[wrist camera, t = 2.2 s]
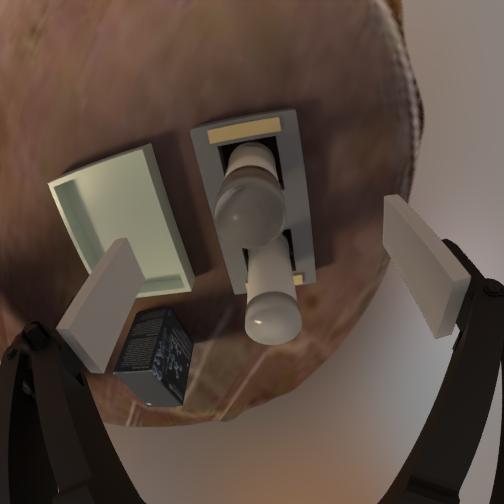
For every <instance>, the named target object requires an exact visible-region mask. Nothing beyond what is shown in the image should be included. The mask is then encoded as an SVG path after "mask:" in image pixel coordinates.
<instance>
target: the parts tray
mask: <svg viewBox="0 0 504 504" xmlns="http://www.w3.org/2000/svg"><path fill="white" fill-rule="evenodd" d="M48 185H49V187H50V190H51V193H52V195H53V198H54V200H55V203H56V205H57V207H58V210H59V212H60V215H61V217H62V219H63V222H64V224H65V226H66V228H67V230H68V233H69V235H70V237H71V239H72V241H73V243H74V245H75V247H76V250H77V252H78V254H79V256H80V258H81V260H82V262H83V263H84V265H85V267H86V269H87V271H88V273H89V275H90V274H91V273H92V271H93V270H94V268H95V267H96V265H97V264H98V263H99V261H100V260H101V258H102V257H103V256H104V254H105V253H106V251H107V250H108V249H109V247H110V246H111V245H112V243H113V242H114V241H115V239H120V238H125V237H127V239H128V241H129V243H130V246H131V248H132V250H133V253H134V255H135V257H136V259H137V262H138V264H139V266H140V268H141V270H142V273H143V275H144V277H145V280H144V282H143V284H142V286H141V288H140V291H139V293H138V295H137V297H136V298H138V297H147V296H156V295H164V294H172V293H181V292H189V291H192V288H193V284H194V280H195V275H194V273H193V270H192V267H191V264H190V262H189V259H188V256H187V253H186V250H185V248H184V245H183V242H182V239H181V236H180V233H179V230H178V227H177V224H176V221H175V218H174V215H173V212H172V209H171V206H170V203H169V200H168V197H167V194H166V190H165V187H164V184H163V181H162V178H161V174H160V171H159V168H158V164H157V161H156V158H155V154H154V151H153V147H152V144H151V143H150V144H146V145H143V146H140V147H137V148H133V149H130V150H127V151H124V152H121V153H118V154H115V155H112V156H109V157H107V158H104V159H101V160H98V161H95V162H93V163H90V164H87V165H85V166H82V167H80V168H77V169H75V170H72V171H70V172H67V173H65V174H62V175H60V176H58V177H57V178H55V179H54V180H52V181H51V182H49V183H48Z"/></svg>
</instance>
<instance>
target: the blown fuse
mask: <svg viewBox="0 0 504 504" xmlns="http://www.w3.org/2000/svg"><path fill="white" fill-rule="evenodd" d="M213 221H214V225H215V228H216V230H217V231H218V233H219V234H220V236H221V237H222V238H223V239H225V240H226V241H227V242H229V243H230V244H232V245H234V246H237V247H240V248H245V249H255V248H261V247H264V246H266V245H269V244H270V243H272V242H274V241H275V240H276V239H277V238H278V237H279V236H280V235H281V233H282V232H283V230H284V228H285V226H286V222H287V209H286V205H285V200H284V196H283V194H282V191H281V186H280V184H279V181H278V176H277V172H276V162H275V158H274V154H273V152H272V150H271V149H270V148H269V147H268V146H267V145H266V144H265V143H263V142H260V141H257V140H248V141H244V142H242V143H240V144H238V145H237V146H236V147H235V148H234V149H233V151H232V153H231V156H230V159H229V163H228V169H227V172H226V175H225V178H224V181H223V183H222V185H221V189H220V191H219V193H218V195H217V199H216V202H215V205H214V209H213Z"/></svg>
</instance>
